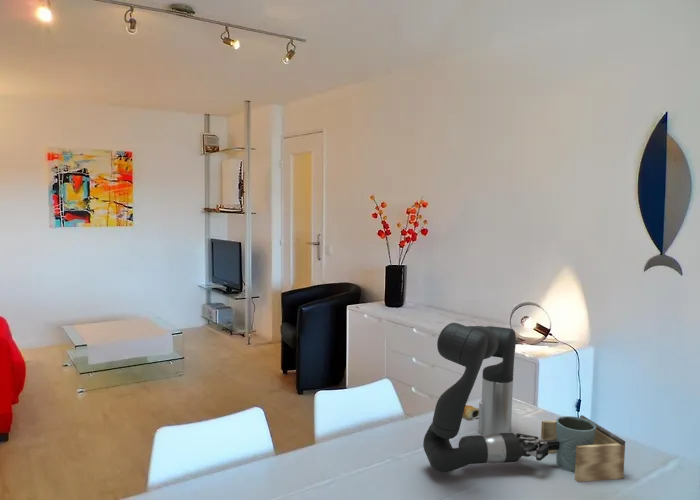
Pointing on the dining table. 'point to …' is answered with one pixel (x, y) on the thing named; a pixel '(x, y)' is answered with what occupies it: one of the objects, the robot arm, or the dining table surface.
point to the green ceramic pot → (572, 439)
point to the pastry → (470, 413)
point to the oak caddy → (594, 454)
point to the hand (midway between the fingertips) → (557, 444)
